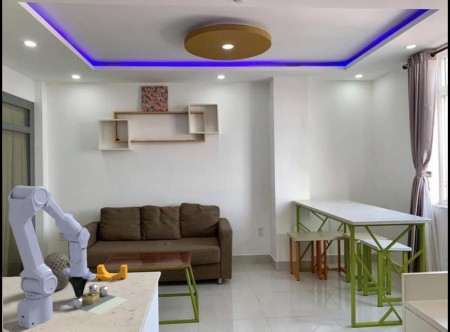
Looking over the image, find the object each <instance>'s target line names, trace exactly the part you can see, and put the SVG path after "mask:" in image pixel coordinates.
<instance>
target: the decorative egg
mask: <svg viewBox="0 0 450 332" xmlns="http://www.w3.org/2000/svg"><path fill="white" fill-rule="evenodd" d="M43 261H44V264H45V265H46V266H48V267H49V268H50V269H51V270H52V273H53V275H54V276H56V278H57V287H56V289H55V291H60V290H62V289H64V288H66V287H67V286H68V285H69V284H70V282H69V278H72V276H70V275H68V274H66V275H64V269H66V268H70V258H68V256H67V255H66V254H64V253H62V252H58V251H55V252H51V253H50V254H48V255H47V256H45V257H44V258H43Z"/></svg>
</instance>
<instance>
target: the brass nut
mask: <svg viewBox="0 0 450 332" xmlns="http://www.w3.org/2000/svg"><path fill="white" fill-rule="evenodd" d="M98 292H99V291H97V292H89V291H88V292H86V293H83V302H84V305H86V304H95V303H97V302H99V293H98Z"/></svg>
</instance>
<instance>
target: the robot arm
mask: <svg viewBox="0 0 450 332" xmlns="http://www.w3.org/2000/svg"><path fill="white" fill-rule="evenodd" d="M7 199H8V204H9V210H8V221H9V225H10V228H11V230H12V234H13V237H14V239H15V244H16V246H17V249H18V253H19V256H20V259H21V262H22V266H23V270H22V271H21V272H20V274H19V276H20V289H21V291H23V292H24V296H26V297H25V298H24V299H22V300H21V301H19V302H18V303H17V309H16V312H17V315H16V316H17V325H18V326H21V327H23V328H26V329H28V330H29V329H32V328H34V327H37V326H39V325H41V324H45V323H47V322H49V321H51V320H52V319H53V318H54V312H53V311H54V308H53V304H54V303H53V294H54V292H55V291H56V290H55V289H56V287H57V278H56V276H54V275H53V273H52V270H51V269H50V268H49V267H48V266H46V265H45V264H44V261H43V260H44V258H43V254H42V251H41V248H40V245H39V242H38V239H37V234H36V232H35V229H34V225H33V221H32V219H33V217H34V216H35V215H37V214H38V212H39V211H41V209H42V210H43V211H44V212H45V213H46V214H48V215H49V216H50V217H51V218H53V220H54V221H55V223H54V225H55V227H57V228H58V230H59V231H60V232H62V234H63V235H64V239H65V241H66V242H68V244H69V245H68V246H69V249H68V251H69V260H70V268H66V269H64V275H66V274H68V275H70V276H72V278H69V284H70V285H71V288H72V289H73V293H74V295H75V298H77V297H81V296H83V294H85V288H86V286H87V283H88V281H90V282H91V281H93V280H96V274H95V273H92V272H91V271H90V268H89V267H88V262H87V261H88V260H87V259H88V256H87V255H88V254H87V247H88V242H89V239H90V236H91V233H90V232H89V230H88V229H87V228H86V227H83V226H82V225H81V223H79V222H78V221H77V220H76V219H75V218H74V215H73V214H72V213H68V212H67V213H64V211H63V209H61V208H60V206H59V205H58V204H57V202H56V201H55V200H54V198H52V192H50V191H48V189H47V188H46V187H45V186H42V185H37V186H36V185H34V186H33V185H32V186H31V185H23V184H22V185H16V186H14V188H12V190H10V193H9V194H8V196H7Z"/></svg>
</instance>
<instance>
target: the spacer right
mask: <svg viewBox="0 0 450 332" xmlns="http://www.w3.org/2000/svg"><path fill="white" fill-rule="evenodd" d="M98 289H99V291H98V292H99V296H100V297H106V296H107V294H108V286H105V285H104V286H100V287H98Z"/></svg>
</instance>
